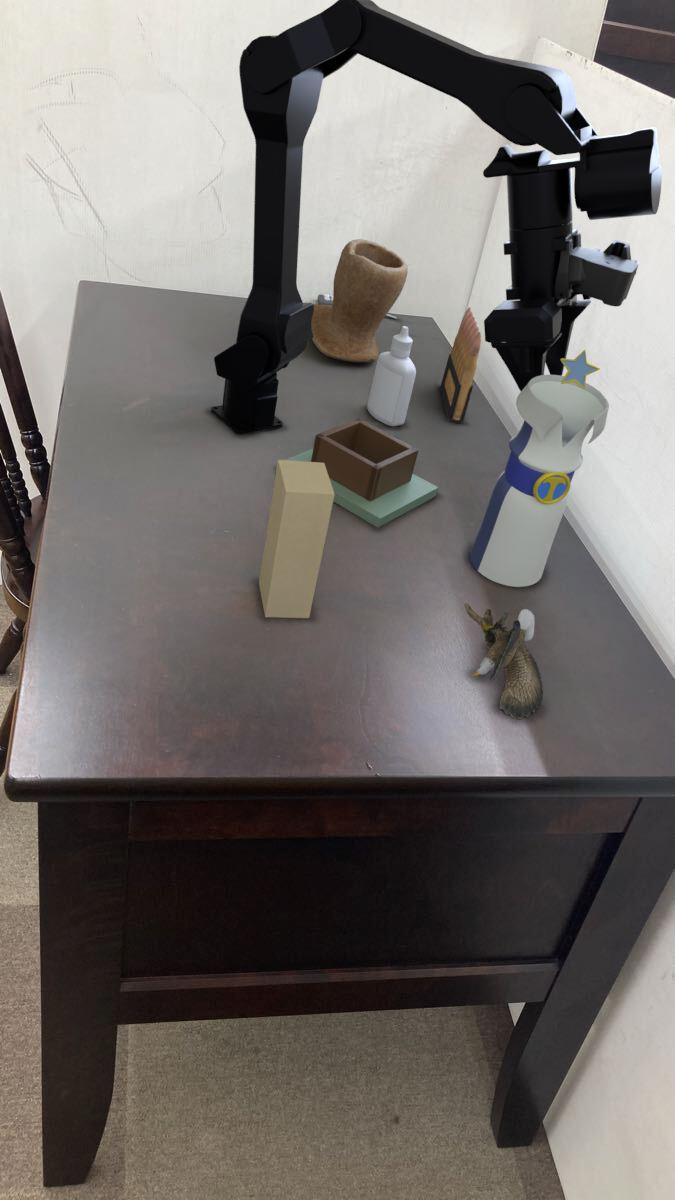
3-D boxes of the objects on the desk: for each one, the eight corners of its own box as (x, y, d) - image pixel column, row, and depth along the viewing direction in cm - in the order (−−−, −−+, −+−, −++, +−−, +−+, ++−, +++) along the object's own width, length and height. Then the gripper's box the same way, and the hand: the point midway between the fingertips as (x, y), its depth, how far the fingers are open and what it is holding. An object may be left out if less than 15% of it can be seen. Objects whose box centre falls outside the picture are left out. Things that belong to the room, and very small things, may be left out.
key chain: (318, 308, 142) (319, 299, 141) (316, 300, 145) (318, 291, 144) (397, 320, 144) (399, 311, 143) (393, 311, 147) (395, 303, 146)
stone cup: (396, 372, 127) (420, 267, 118) (314, 365, 124) (333, 256, 115) (372, 330, 138) (393, 231, 129) (297, 323, 135) (313, 220, 126)
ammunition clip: (462, 423, 117) (488, 336, 110) (449, 421, 117) (473, 333, 110) (452, 389, 126) (475, 306, 119) (440, 387, 126) (462, 303, 118)
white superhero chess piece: (560, 590, 90) (656, 360, 74) (480, 588, 88) (561, 351, 72) (534, 541, 96) (617, 319, 80) (459, 538, 94) (529, 310, 78)
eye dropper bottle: (372, 425, 112) (392, 334, 105) (365, 405, 116) (384, 316, 109) (405, 429, 113) (427, 338, 106) (397, 409, 117) (418, 320, 110)
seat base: (279, 470, 99) (286, 428, 96) (341, 444, 107) (349, 404, 104) (377, 528, 93) (388, 485, 90) (435, 496, 101) (447, 456, 98)
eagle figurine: (433, 636, 79) (469, 693, 71) (488, 576, 77) (531, 628, 69) (490, 675, 82) (530, 734, 74) (544, 619, 80) (590, 673, 73)
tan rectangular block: (258, 582, 82) (277, 459, 74) (301, 584, 83) (324, 462, 75) (264, 617, 78) (285, 491, 71) (309, 618, 79) (334, 494, 72)
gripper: (610, 235, 72) (609, 422, 79) (648, 201, 86) (644, 362, 93) (477, 246, 77) (488, 421, 84) (533, 212, 91) (539, 364, 98)
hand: (545, 390), depth 90 cm, fingers open, 9 cm apart
